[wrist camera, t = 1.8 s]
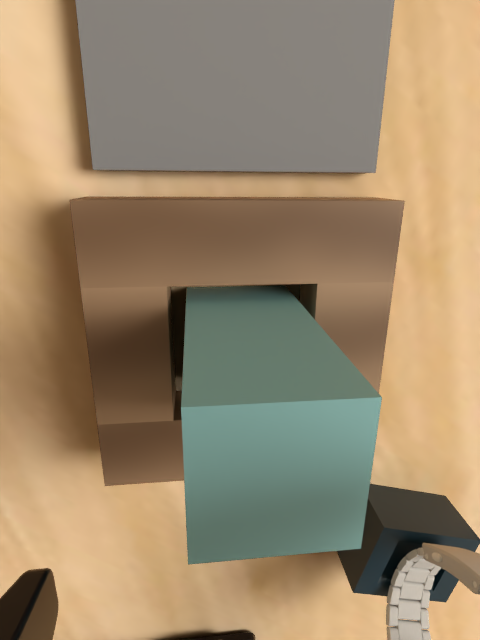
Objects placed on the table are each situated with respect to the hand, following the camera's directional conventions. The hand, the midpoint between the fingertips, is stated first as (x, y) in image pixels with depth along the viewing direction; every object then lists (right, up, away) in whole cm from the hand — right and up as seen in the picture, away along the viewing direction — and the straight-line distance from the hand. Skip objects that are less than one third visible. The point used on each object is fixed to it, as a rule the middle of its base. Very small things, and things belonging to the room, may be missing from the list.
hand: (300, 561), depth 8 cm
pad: (-1, +15, +7) cm, 17 cm away
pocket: (-1, +4, +11) cm, 12 cm away
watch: (+8, -7, +16) cm, 19 cm away
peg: (-1, +4, +11) cm, 12 cm away
